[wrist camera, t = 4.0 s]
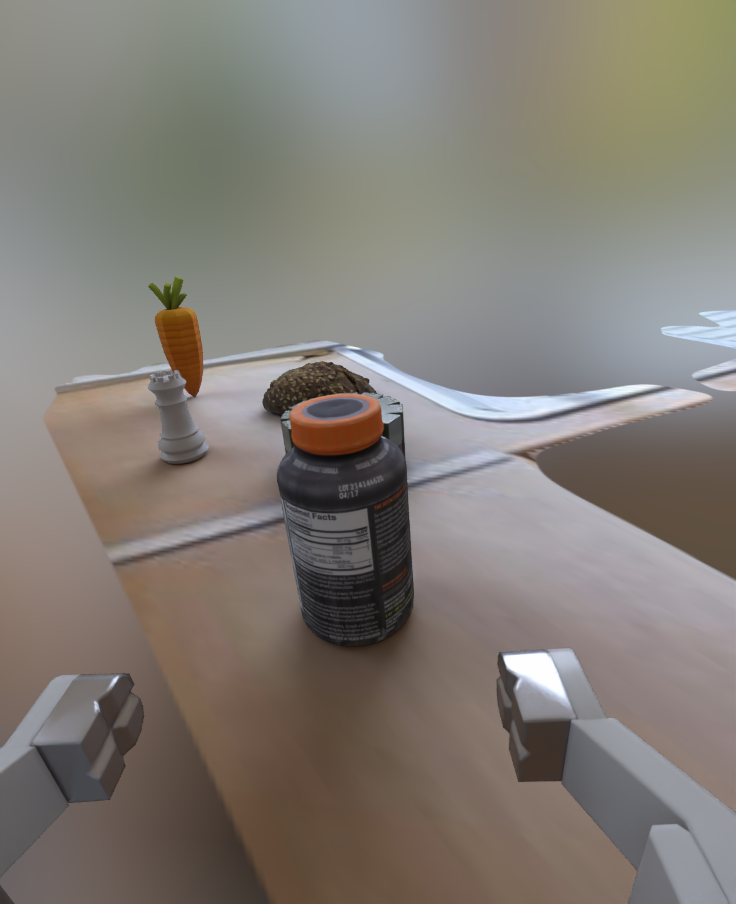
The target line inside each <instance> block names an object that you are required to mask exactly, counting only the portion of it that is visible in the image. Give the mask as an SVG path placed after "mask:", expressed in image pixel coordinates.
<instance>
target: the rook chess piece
mask: <svg viewBox="0 0 736 904" xmlns="http://www.w3.org/2000/svg"><path fill="white" fill-rule="evenodd" d="M166 373H167V375H166V376H162V372H157V373H156V377H157V378H155V374H151V375H150V380H151V382H150V384H149V386H148V389H149V390H150V391H152V392H153V393H154V394H155V395H156V398H157V400H156V402H155V404H156V405H157V406H158V407H159V410H160V414H161V422H162V433H161V434H160V436H161V439H160V440H159V442H158V447H159V450H161V451H163V452H162V453H161V454H160V458H161V459H163V460H164V461H165V462H167V463H170V464H183V463H188V462H192V461H194V460H197V459H199V458H201V457H202V456H204V455H205V453H206V451H207V449H208V447H209V446H208V444H207V443H205V442H204V441H205V439H206V437H205V435H204V434H203V432H201V431H200V430H199V428H198V426H196V425H195V424H194V422H193V420H192V418H191V415H190V413H189V410H188V407H187V403H186V400H187V396H185V395H184V393H183V388H184V386H185V384H186V380H185V379H183V378H182V377H181V376H180V372H179V371H177V370H175V371H174V375H173V373H172V370H168V371H166Z"/></svg>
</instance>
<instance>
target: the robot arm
mask: <svg viewBox="0 0 736 904" xmlns="http://www.w3.org/2000/svg"><path fill="white" fill-rule="evenodd" d="M497 665H498V668H499V672H500V675H501V676H500V677H499V678H498V679H497V701H498V708H499V713H500V717H501V721H502V725H503V728H505V729H506V730H507V731H508V732H509V733H510V737H509V751H510V754H511V758H512V761H513V765H514V768H515V772H516V776H517V779H518V782H536V781H562V783H561V784H562V785H563V786H564V787H565V788H566V789H567V790H568V792H569V793H570V794H571V795H572V796H573V797H574V799H575V800H576V801H577V802H578V803H579V804H580V805H581V807H582V808H583V809H584V810H585V811H586V812H587V813H588V815H589V816H590V817H591V818H592V819H593V820H594V821H595V823H596V824H597V825H598V826H599V827H600V828H601V830H602V831H603V832H604V833H605V834H606V835H607V836H608V838H609V839H610V840H611V841H612V842H613V843H614V844H615V846H616V847H617V848H618V849H619V850H620V851H621V852H622V854H623V855H624V856H625V857H626V858H627V859H628V861H629V862H630V863H631V864H632V865H633V866H634V867H635V869H636V870H637V871H638V872H637V876H636V879H635V882H634V885H633V889H632V892H631V895H630V898H629V902H628V904H736V813H735V812H734V811H732V810H731V809H730V808H728V807H727V806H726V805H725V804H723V803H722V802H721V801H720V800H718V799H717V798H716V797H715V796H713V795H712V794H711V793H709V792H708V791H707V790H706V789H704V788H703V787H702V786H701V785H699V784H698V783H697V782H696V781H694V780H693V779H692V778H690V777H689V776H688V775H687V774H685V773H684V772H683V771H682V770H680V769H679V768H678V767H676V766H675V765H674V764H673V763H671V762H670V761H669V760H668V759H666V758H665V757H664V756H663V755H661V754H660V753H659V752H657V751H656V750H655V749H654V748H652V747H651V746H650V745H649V744H647V743H646V742H645V741H644V740H642V739H641V738H640V737H638V736H637V735H636V734H635V733H633V732H632V731H631V730H630V729H628V728H627V727H626V726H625V725H623V724H622V723H621V722H619V721H618V720H617V719H616V718H607V716H606V714H605V712H604V710H603V708H602V706H601V704H600V702H599V700H598V698H597V696H596V694H595V692H594V690H593V688H592V686H591V684H590V682H589V680H588V678H587V676H586V674H585V672H584V670H583V668H582V666H581V664H580V662H579V660H578V658H577V656H576V654H575V652H574V651H573V650H572V649H571V648H561V649H546V650H545V649H539V650H524V651H509V652H499V655H498V664H497ZM133 686H134V682H133V681H132V678H131V676H130V674H125V673H120V674H81V675H60V676H57V677H56V678H55V679H53V680H52V681H51V682H50V683H49V684H48V686H47V687H46V688H45V690H44V691H43V692H42V694H41V695H40V697H39V698H38V699H37V701H36V702H35V704H34V705H33V706H32V708H31V709H30V710H29V712H28V713H27V715H26V716H25V717H24V719H23V720H22V721H21V723H20V724H19V726H18V727H17V728H16V730H15V731H14V733H13V734H12V735H11V737H10V738H9V740H8V741H7V742H6V744H5V745H4V746H3V748H0V877H2V876H3V874H4V873H5V872H6V871H7V870H8V869H9V868H10V867H11V866H12V865H13V864H14V863H15V862H16V860H18V859H19V858H20V857H21V856H22V855H23V854H24V852H25V851H26V850H27V849H28V848H29V847H30V846H31V845H32V844H33V843H34V842H35V841H36V840H37V839H38V838H39V837H40V835H42V834H43V832H44V831H45V830H46V829H47V828H48V827H49V826H50V825H51V824H52V823H53V822H54V821H55V820H56V819H57V818H58V817H59V816H60V815H61V814H62V812H63V811H64V810H65V809H66V808H67V807H68V806H69V804H68V803H74V802H88V801H102V800H110V798H111V796H112V794H113V792H114V789H115V788H116V786H117V783H118V781H119V779H120V777H121V775H122V773H123V770H124V768H125V763H124V757H123V756H124V755H125V754H126V753H127V752H128V751H129V750H130V749H131V748H133V747H134V746H135V744H136V742H137V740H138V738H139V735H140V733H141V730H142V724H143V719H144V711H143V705H142V702H141V699H140V698H139V697H138V696H136V695H135V694H133V693H132V692H131V690H132V688H133Z"/></svg>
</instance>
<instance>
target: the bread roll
mask: <svg viewBox="0 0 736 904" xmlns="http://www.w3.org/2000/svg"><path fill="white" fill-rule="evenodd" d="M368 383H369V379H367V378H363V377H362V376H360V375H357V374H355V373H352V372H350V371H348V370H347V369H346V368H344V367H343V366H341V365H336V364H333V363H332V362H329V363H327V362H323V361H321V362H316V363H312V364H310V363H308V364H306V365H305V366H303V367H300V368H296V369H292V370H289V371H287V372H286V373H283V374H282V375H281V376H280V377H279V378H278V379H277V380H273V382H271V384H270V389H267V392H265V394H264V399H263V402H262V403H263V406H264V408H265V409H266V410H267V411H271V412H274V413H276V414H279V415H283V414H284V412H285V411H289V408H290V407H292V406H294V405H296V404H298V403H300V402H302V401H308V400H310V399H313V398H317V397H321V396H326V395H334V394H339V393H355V392H357V393H358V394H363V393H373V394H377V393H376V391H375V390H374V389H373V388H372V387H371V386H370V385H369V384H368Z"/></svg>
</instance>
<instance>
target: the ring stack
mask: <svg viewBox="0 0 736 904" xmlns="http://www.w3.org/2000/svg"><path fill="white" fill-rule="evenodd" d="M339 394H358V393H357V392H355V393H339ZM361 395H366V396H370V397H373V398H375V399H376V400H377V401H378V402H379V403H380V406H381V413H382V421H383V424H384V430H383V432H382V437H385V438H387V439H389V440H391V441H392V442H393V443H394V444H396V445H397V446H398V448H399V449H400V450H401V451H402V453H403V455H404V458H405V444H404V423H403V406H402V404H400V402H399V401H397V400H395V399H393V398H391V397H389V396H387V397H383V395H381V394H373V393H363V394H361ZM326 396H327V395H326ZM321 397H322V396H321ZM303 402H305V401H302V402H300V403H298V404H296V405H294V406H292V407H290V408H289V411H285V412H284V414H283V416H282V417H281V419H280V421H281V427H282V433H283V439H284V445H285V451H286V454H287V453H288V452H289V451H290V450H291V449H292V448H294V443H293V441H292V437H291V433H292V431H291V425H290V418H289V415H290V412H291V411H292V409H293V408H294V407H296V406H297V405H299V404H301V403H303Z"/></svg>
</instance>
